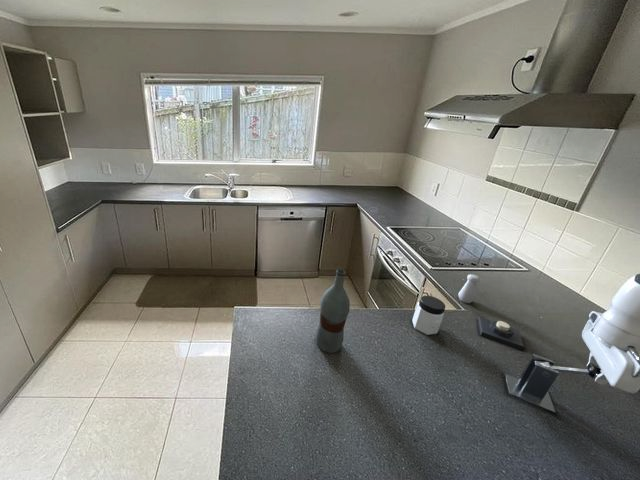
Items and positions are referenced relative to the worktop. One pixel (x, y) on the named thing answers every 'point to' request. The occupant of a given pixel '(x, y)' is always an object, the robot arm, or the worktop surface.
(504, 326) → the button
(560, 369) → the toaster lever
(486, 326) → the button housing
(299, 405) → the worktop surface
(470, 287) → the salt shaker
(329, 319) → the bottle
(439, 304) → the jar
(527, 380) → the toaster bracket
